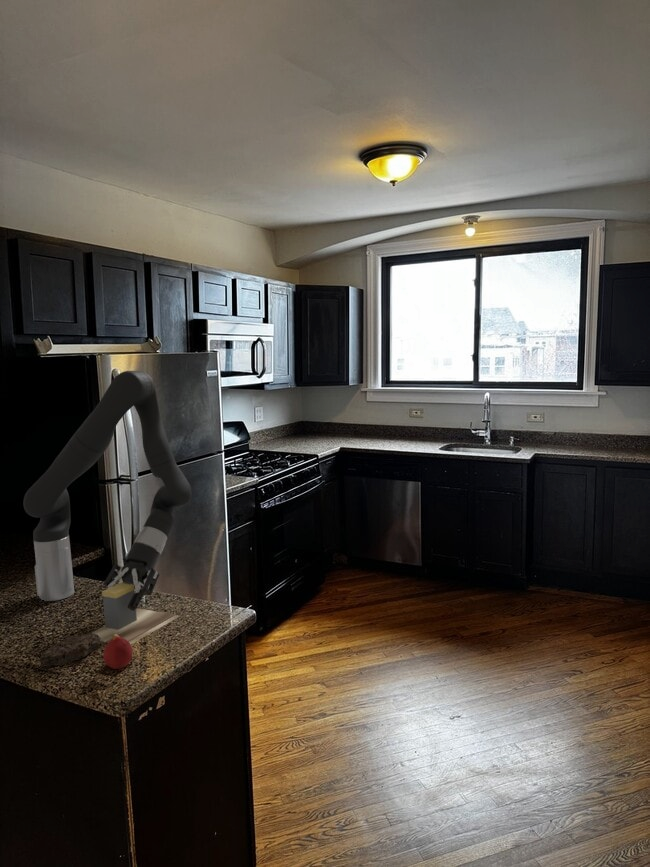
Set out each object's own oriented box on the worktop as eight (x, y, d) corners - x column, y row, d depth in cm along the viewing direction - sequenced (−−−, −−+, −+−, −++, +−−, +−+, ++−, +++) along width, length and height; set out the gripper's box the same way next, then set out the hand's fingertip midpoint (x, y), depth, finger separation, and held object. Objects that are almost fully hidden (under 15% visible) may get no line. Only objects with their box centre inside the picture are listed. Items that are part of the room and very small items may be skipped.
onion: (126, 661, 129) (123, 625, 128) (138, 669, 124) (135, 633, 124) (100, 671, 125) (97, 635, 124) (112, 680, 120) (109, 643, 120)
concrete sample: (107, 649, 135) (105, 628, 135) (82, 671, 125) (80, 648, 125) (62, 647, 137) (60, 626, 137) (34, 669, 127) (31, 647, 127)
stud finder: (105, 627, 144) (101, 591, 143) (124, 617, 150) (120, 582, 149) (118, 630, 142) (115, 593, 141) (137, 620, 147) (134, 585, 147)
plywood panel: (83, 641, 139) (83, 636, 139) (139, 612, 155) (138, 607, 155) (127, 651, 133) (126, 645, 133) (180, 620, 149) (180, 615, 149)
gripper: (118, 539, 154) (87, 596, 145) (160, 543, 148) (130, 604, 139) (135, 552, 160) (106, 609, 150) (176, 557, 153) (148, 617, 144)
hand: (117, 606), depth 145 cm, fingers open, 8 cm apart
